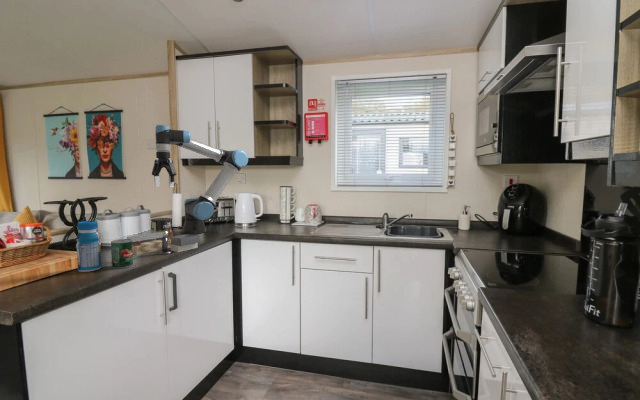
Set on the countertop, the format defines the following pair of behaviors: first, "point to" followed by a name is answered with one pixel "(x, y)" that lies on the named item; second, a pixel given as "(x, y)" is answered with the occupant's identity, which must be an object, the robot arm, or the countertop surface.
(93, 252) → the beverage bottle
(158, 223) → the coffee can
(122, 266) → the canned tomato
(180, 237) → the grey rectangular block
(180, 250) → the block
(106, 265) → the countertop surface
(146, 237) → the latch lever
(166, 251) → the lever post
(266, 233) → the countertop surface
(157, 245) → the hand plane
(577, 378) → the countertop surface
